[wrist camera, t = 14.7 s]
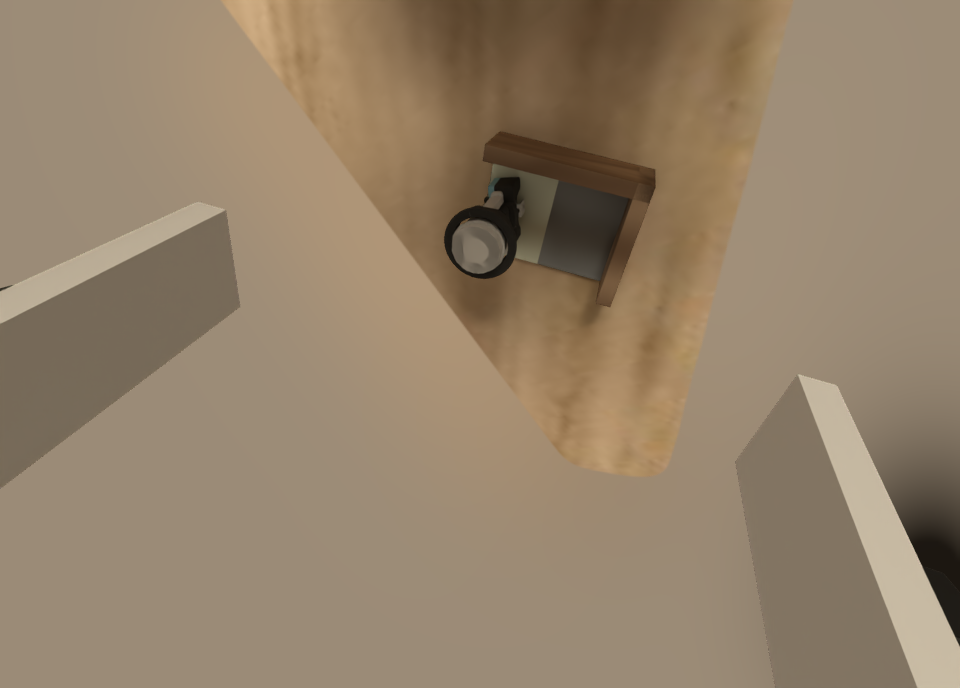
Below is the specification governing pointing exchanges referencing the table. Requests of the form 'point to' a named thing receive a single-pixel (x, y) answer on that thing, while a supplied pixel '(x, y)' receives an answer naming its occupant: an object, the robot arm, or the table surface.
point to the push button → (487, 232)
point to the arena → (574, 207)
